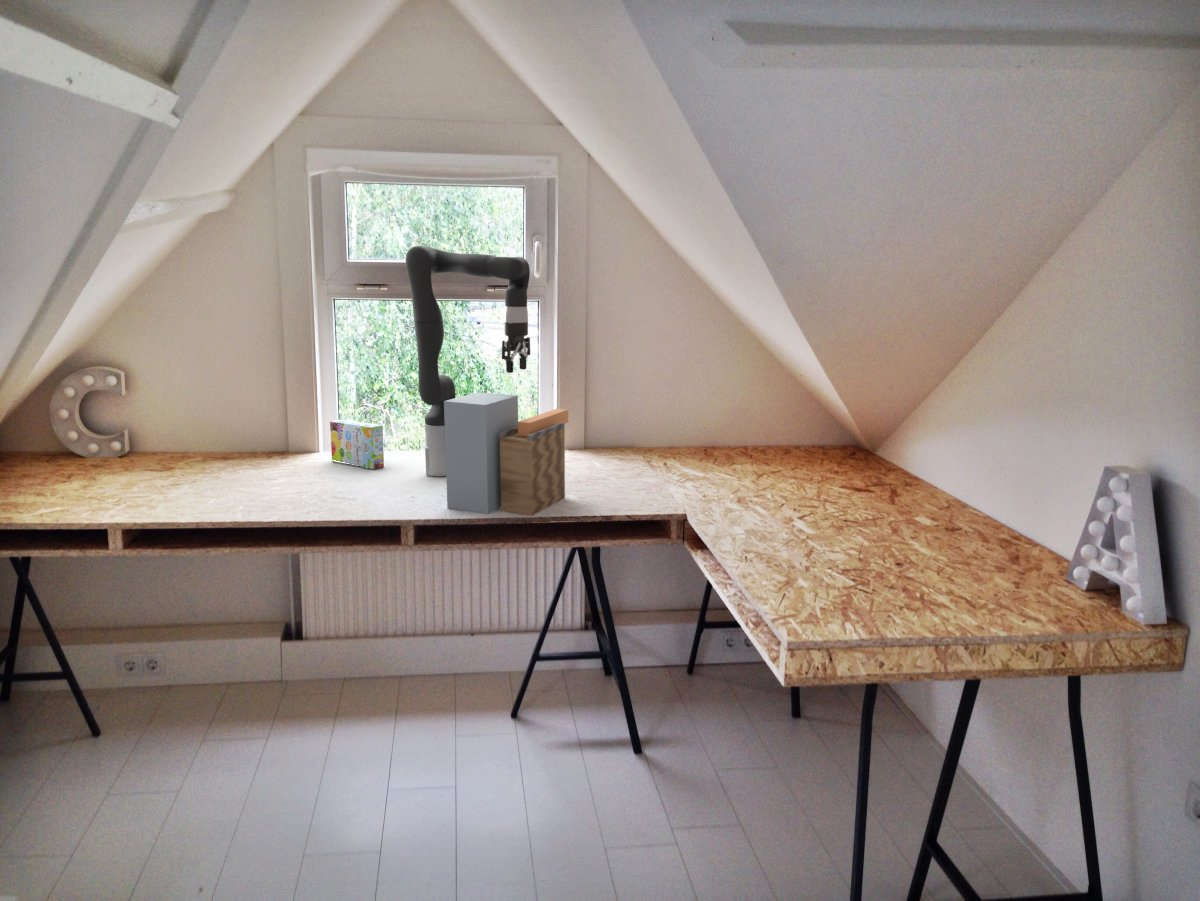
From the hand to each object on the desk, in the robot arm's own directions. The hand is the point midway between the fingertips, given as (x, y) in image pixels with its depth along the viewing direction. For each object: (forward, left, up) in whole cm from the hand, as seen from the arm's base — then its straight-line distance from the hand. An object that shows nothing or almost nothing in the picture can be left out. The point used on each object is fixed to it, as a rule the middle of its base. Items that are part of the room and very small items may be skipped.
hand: (516, 370), depth 305 cm
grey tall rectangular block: (-10, -30, -36) cm, 48 cm away
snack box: (-56, +23, -36) cm, 71 cm away
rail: (+8, -27, -14) cm, 31 cm away
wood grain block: (+5, -32, -36) cm, 48 cm away
